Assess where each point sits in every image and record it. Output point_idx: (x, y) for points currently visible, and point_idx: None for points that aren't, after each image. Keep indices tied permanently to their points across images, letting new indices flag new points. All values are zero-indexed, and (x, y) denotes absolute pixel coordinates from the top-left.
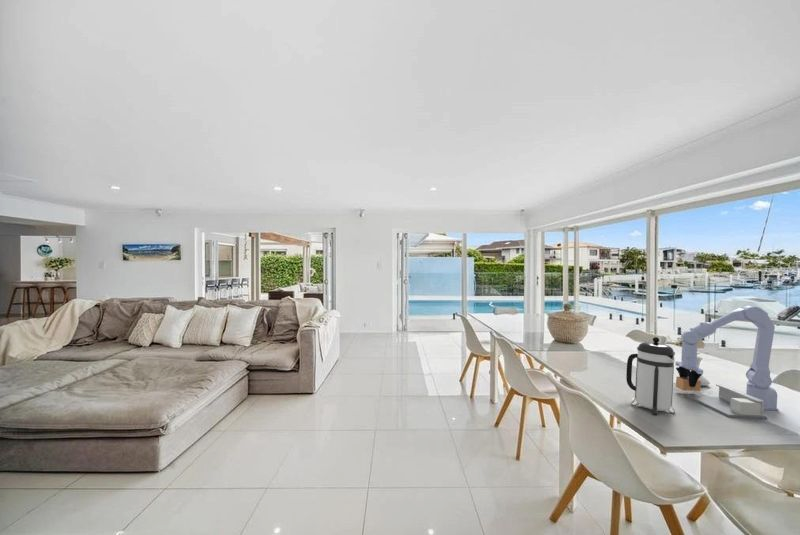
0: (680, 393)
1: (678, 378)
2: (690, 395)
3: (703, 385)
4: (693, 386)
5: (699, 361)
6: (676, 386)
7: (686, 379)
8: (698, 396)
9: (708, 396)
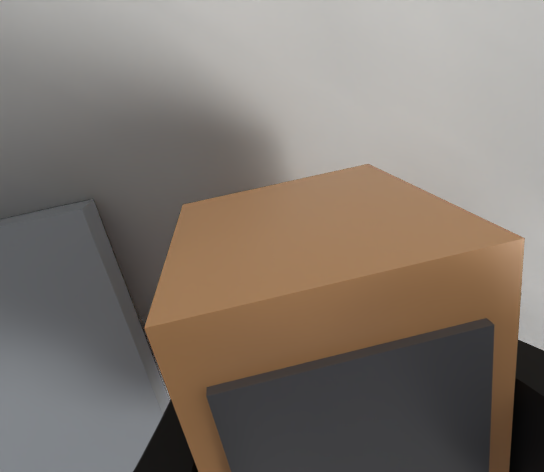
0: None
1: (393, 247)
2: (83, 258)
3: None
4: None
5: None
6: (353, 169)
7: (223, 430)
8: (93, 353)
9: None
